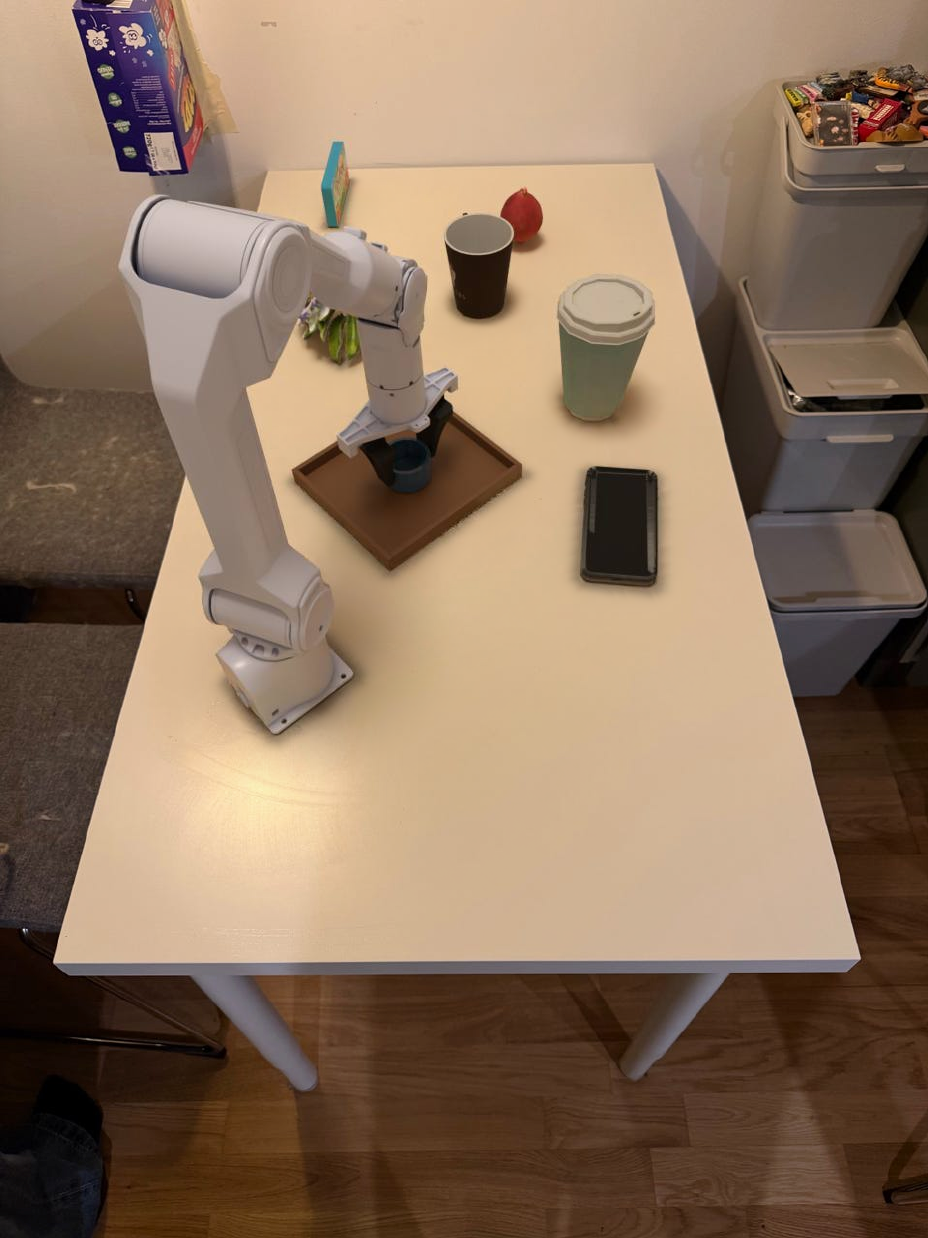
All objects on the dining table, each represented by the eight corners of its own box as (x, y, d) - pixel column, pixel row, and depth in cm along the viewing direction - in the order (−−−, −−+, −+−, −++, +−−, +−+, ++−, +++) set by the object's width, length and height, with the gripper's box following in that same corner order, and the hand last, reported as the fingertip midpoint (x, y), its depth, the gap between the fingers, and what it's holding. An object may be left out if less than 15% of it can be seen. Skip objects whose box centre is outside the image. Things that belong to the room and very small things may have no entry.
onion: (495, 251, 117) (495, 195, 110) (506, 227, 120) (507, 172, 113) (535, 257, 116) (538, 202, 109) (545, 233, 119) (549, 177, 112)
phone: (657, 470, 93) (657, 580, 85) (656, 477, 94) (655, 587, 86) (586, 465, 93) (579, 574, 85) (585, 472, 94) (578, 580, 86)
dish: (405, 501, 92) (402, 481, 90) (374, 474, 94) (370, 454, 92) (441, 475, 94) (440, 455, 91) (411, 450, 96) (408, 429, 94)
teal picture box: (339, 181, 128) (333, 139, 122) (349, 181, 128) (343, 139, 122) (327, 227, 121) (320, 186, 116) (338, 228, 121) (331, 186, 116)
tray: (390, 571, 88) (388, 559, 86) (294, 481, 95) (291, 469, 93) (522, 476, 94) (522, 464, 93) (423, 399, 102) (421, 386, 100)
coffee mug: (506, 327, 108) (507, 257, 100) (441, 320, 109) (436, 251, 101) (521, 272, 114) (523, 202, 106) (459, 266, 115) (456, 196, 107)
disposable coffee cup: (530, 399, 101) (535, 291, 88) (595, 359, 104) (609, 250, 92) (591, 448, 96) (605, 341, 84) (657, 405, 100) (680, 296, 87)
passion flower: (321, 364, 114) (291, 271, 109) (398, 343, 112) (371, 248, 108) (306, 375, 103) (272, 273, 99) (390, 351, 102) (360, 247, 97)
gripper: (360, 428, 77) (378, 521, 89) (476, 354, 82) (478, 452, 94) (315, 390, 80) (337, 485, 92) (429, 321, 85) (437, 419, 97)
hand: (406, 466), depth 93 cm, fingers closed on dish, 5 cm apart
